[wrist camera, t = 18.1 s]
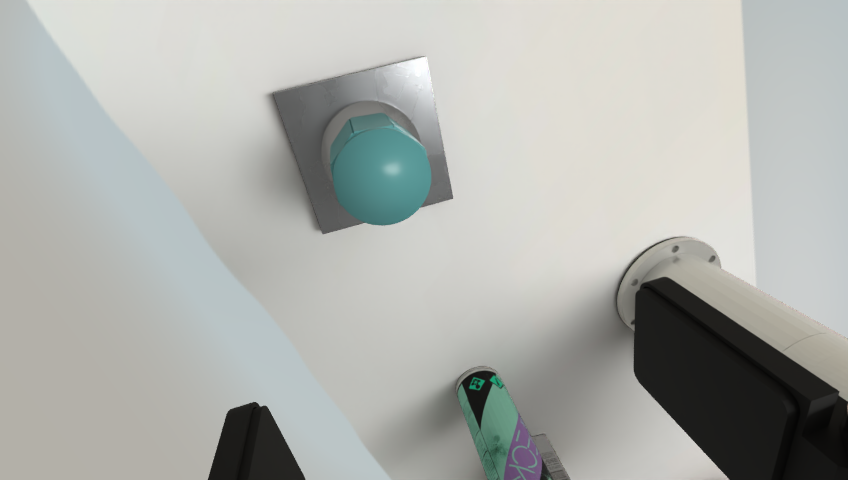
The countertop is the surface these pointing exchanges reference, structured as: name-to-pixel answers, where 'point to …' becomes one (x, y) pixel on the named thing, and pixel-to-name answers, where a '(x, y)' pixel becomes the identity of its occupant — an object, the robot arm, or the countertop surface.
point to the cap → (379, 170)
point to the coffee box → (550, 458)
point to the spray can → (498, 428)
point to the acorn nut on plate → (351, 97)
